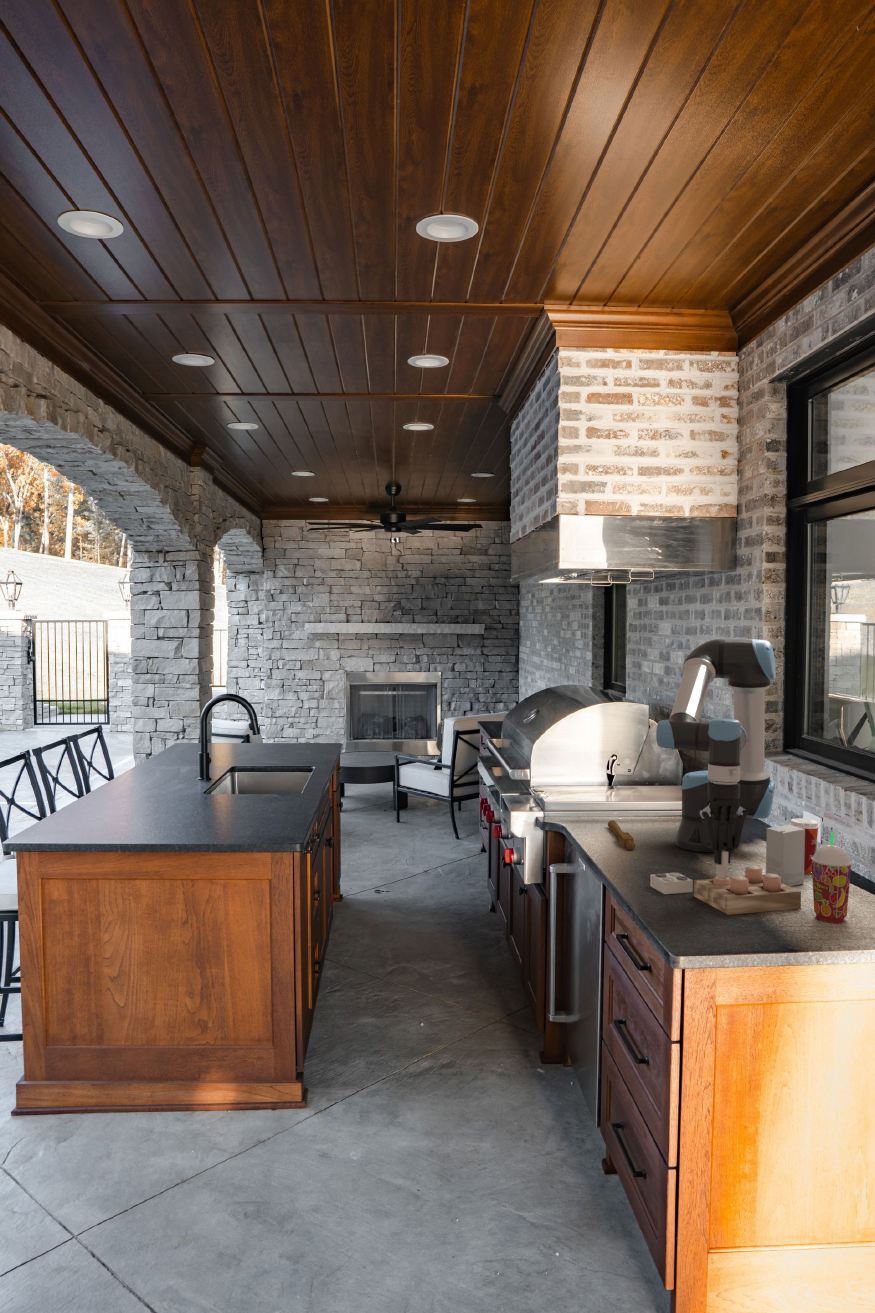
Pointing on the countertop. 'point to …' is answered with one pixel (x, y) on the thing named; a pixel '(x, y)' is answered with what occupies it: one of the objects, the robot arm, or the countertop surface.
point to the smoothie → (831, 882)
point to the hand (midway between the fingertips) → (722, 876)
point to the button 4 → (771, 883)
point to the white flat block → (671, 883)
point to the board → (746, 898)
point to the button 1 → (721, 881)
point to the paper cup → (808, 839)
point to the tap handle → (622, 835)
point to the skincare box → (786, 853)
